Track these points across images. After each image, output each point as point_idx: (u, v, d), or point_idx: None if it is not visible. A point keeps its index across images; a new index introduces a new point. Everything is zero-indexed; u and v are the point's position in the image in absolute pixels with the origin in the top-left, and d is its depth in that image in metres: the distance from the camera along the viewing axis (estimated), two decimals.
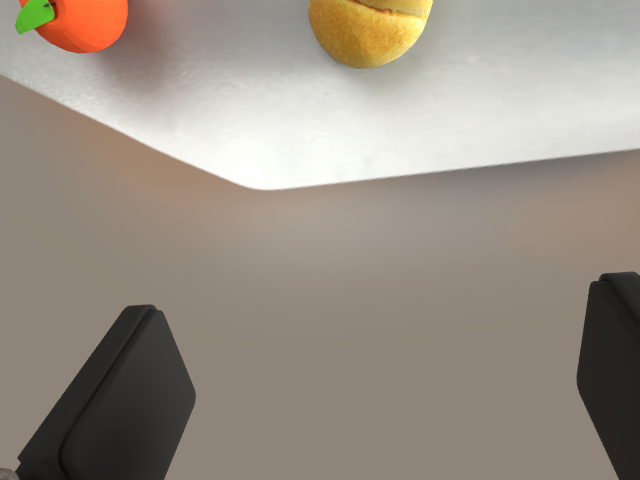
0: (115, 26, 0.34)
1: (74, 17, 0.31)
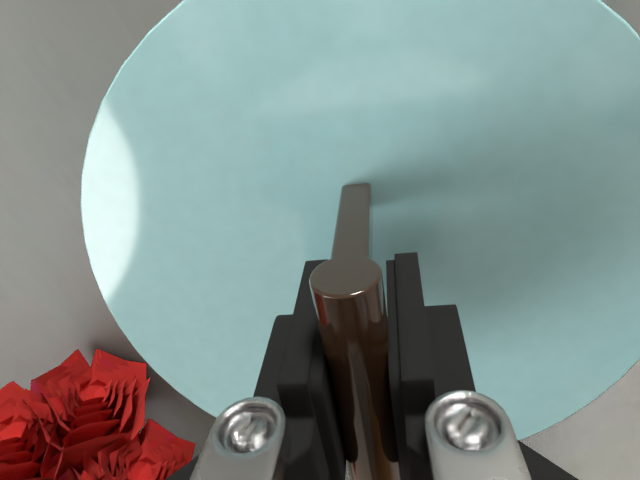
0: None
1: None
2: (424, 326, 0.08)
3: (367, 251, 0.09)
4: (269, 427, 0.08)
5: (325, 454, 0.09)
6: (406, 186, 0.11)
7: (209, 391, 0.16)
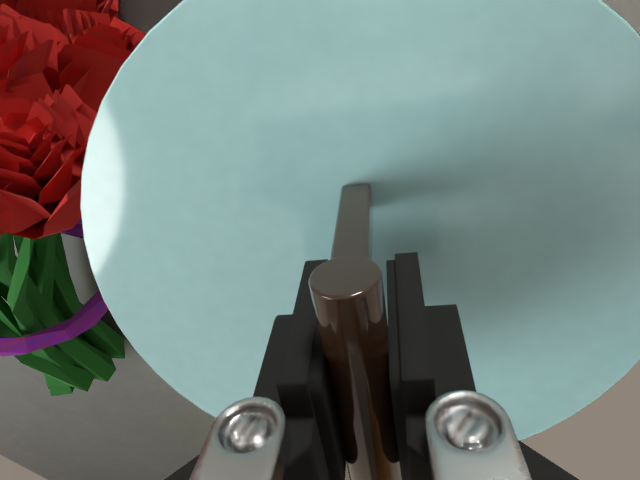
0: None
1: None
2: (424, 326, 0.08)
3: (367, 252, 0.09)
4: (269, 427, 0.08)
5: (325, 454, 0.09)
6: (406, 186, 0.11)
7: (209, 391, 0.16)
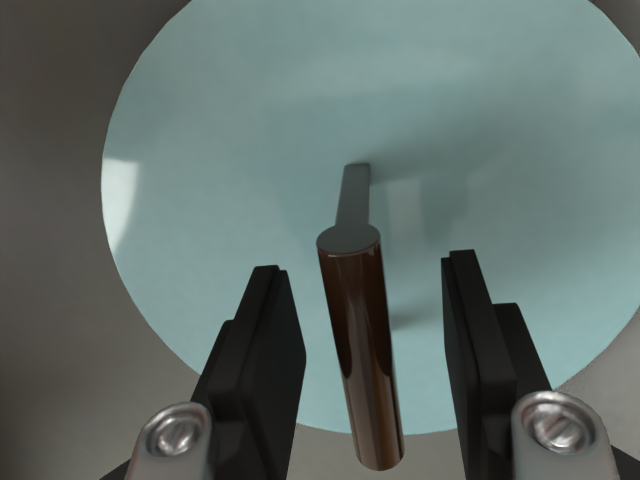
0: None
1: None
2: (496, 324, 0.08)
3: (367, 219, 0.10)
4: (197, 431, 0.08)
5: (261, 457, 0.09)
6: (403, 166, 0.12)
7: None
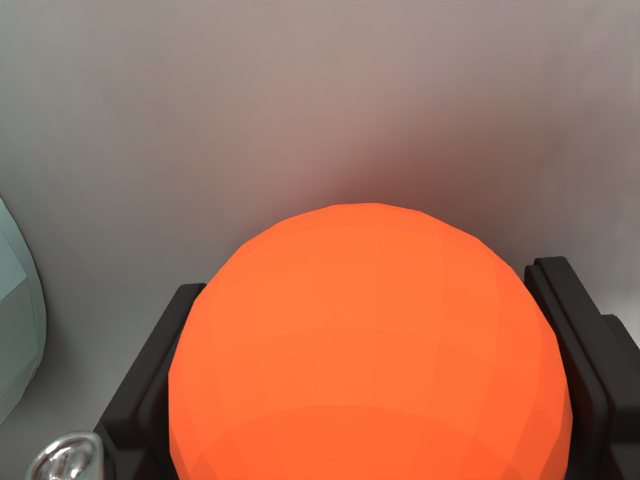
0: (483, 289, 0.07)
1: None
2: (615, 342, 0.07)
3: None
4: (89, 462, 0.08)
5: None
6: None
7: None
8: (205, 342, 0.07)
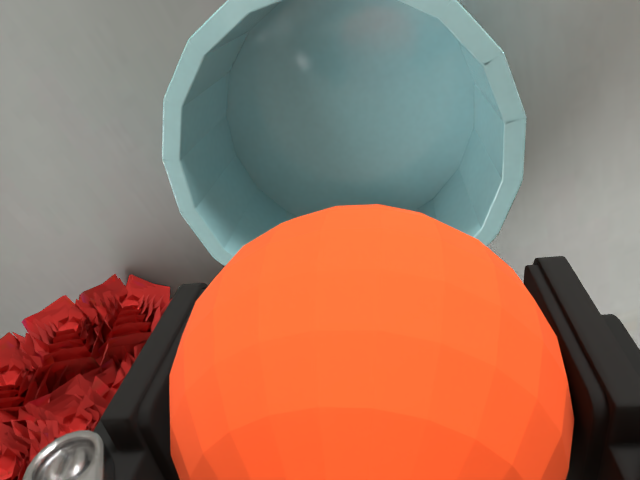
0: (484, 291, 0.07)
1: None
2: (615, 341, 0.07)
3: None
4: (90, 462, 0.08)
5: None
6: None
7: None
8: (205, 345, 0.07)
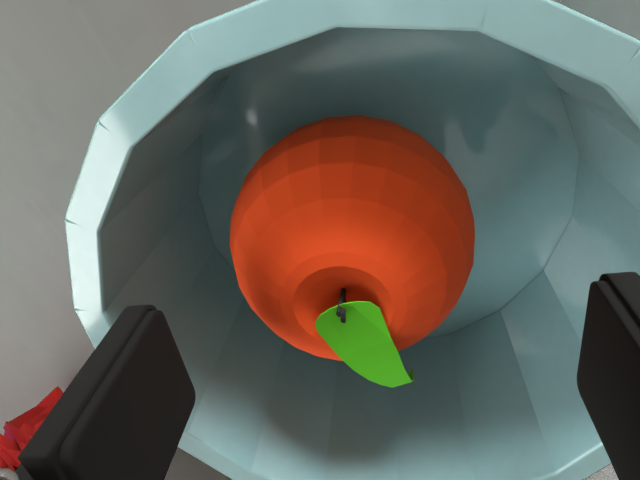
0: (415, 150, 0.12)
1: (379, 250, 0.10)
2: None
3: None
4: None
5: None
6: None
7: None
8: (257, 186, 0.12)
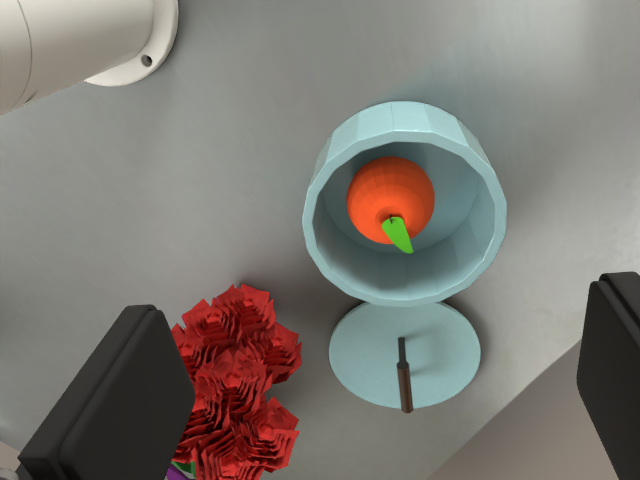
0: (413, 169, 0.35)
1: (402, 200, 0.34)
2: None
3: (406, 358, 0.46)
4: None
5: None
6: (412, 338, 0.48)
7: (354, 386, 0.53)
8: (361, 181, 0.36)
